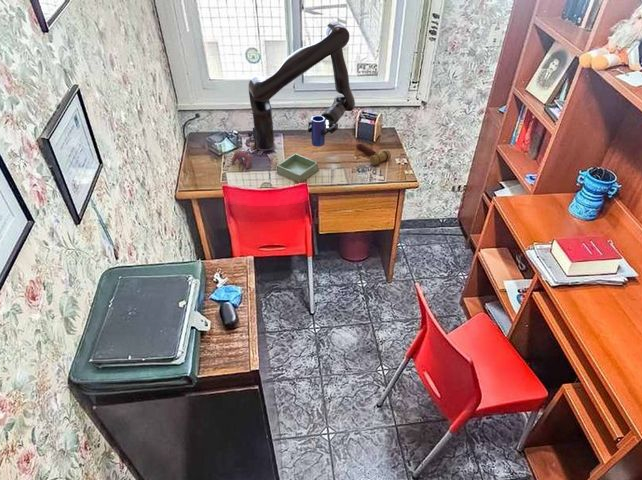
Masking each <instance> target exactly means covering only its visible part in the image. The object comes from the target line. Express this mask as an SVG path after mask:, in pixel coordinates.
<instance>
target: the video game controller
mask: <svg viewBox="0 0 642 480" xmlns="http://www.w3.org/2000/svg"><path fill="white" fill-rule="evenodd" d="M233 153H234V154H233V156H232V158H231V165H234V164H235V163H237V162H238V163H240V164H242V163H243V164H244V165H245V168H246V169H249V168H250V167H251V165H252V162H253V160H254V156H253V154H250V153H249V152H248V151H246V150H237V151H235V152H233Z"/></svg>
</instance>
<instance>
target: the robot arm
mask: <svg viewBox="0 0 642 480" xmlns="http://www.w3.org/2000/svg"><path fill="white" fill-rule="evenodd" d="M324 36H325V37H324V38H322V39H321V40H320V41H318V42H316V43H313V44H309V45H307V46H303V47H300V48H299V49H297V50H296V51H294V52H293V53H291V54H290V55H289V56H287V57H286V58H285V59H284V61H283V62H282V64H281V65H280V67H278V69H277V70H276V72H274V73H273V74H272V75H270V76H269V77H268V78H265V77H264V76H261V75H254V76H252V77H251V78H250V79H249V82H248V85H247V86H248V96H249V103H250V107H251V112H252V113H251V114H252V120H253V127H252V132H247V134H248V135H249V136H250V137H252V136H253V137H252V138H253V143H254V147H255V148H256V149H257V150H258V151H261V152H269V151H272V150H274V149H275V146H276V145H275V141H276V140H275V135H274V123H273V122H274V119H273V108H272V105H271V101H270V100H271V99H272V98H273V97H275V95H277V94H278V93H279V92H280V91H281V90H282V89H283V88H285V87H286V86H288V85H289V84H291V83H292V82H293V81H295V80H296V79H297V78H299V77H301V76H303V75H304V74H305V73H306V72H308V71H309V70H310V69H312V68H313V67H315V66H316V65H318V64H320V62H322V61H323V60H324V59H326V58H328V57H330V60H331V65H332V72H333V79H334V80H333V81H334V87H335V91H336V93H338V94H339V95H336V96H335V97H334V99H333V103H332V105H330V106H329V107H327V108H326V109H325V111H324V112H323V113H321V115H320V116H323V117H324V118H325V129H324V130H323V131H322V136H324V135H325V136H326V135H327V134H329V133H330V134H334V133H335V132H336V131H337V130H339V123H338V122H339V121H340V119H341V118H342V117H343V116H344V115H345V112H352V111H353V110H354V109H355V107H356V101H355V97H354V95H353V92H352V89H351V86H350V76H349V72H348V71H349V70H348V67H347V64H346V60H345V55H344V50H343V49H344V48H345V47H346V46H347V45H348V43H349V41H350V32H349V30H348V29H347V27H345V26H344V25H342V23H340V22H338V21H330V22H329V23H328V24H327V25H326V27H325V30H324ZM307 122H308V125H307V131H308V133H311V118H310V119H309V121H307Z"/></svg>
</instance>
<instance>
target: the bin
mask: <svg viewBox="0 0 642 480" xmlns="http://www.w3.org/2000/svg"><path fill="white" fill-rule="evenodd" d="M275 167H276V173H277V174H278V175H280V176H283V177H285V178H288V179H290V180H292V181H295V182H297V183H299V184H302V183H303V182H304V181H305V180H307V179H309V177H311V176H312V175H314V174H315V173H316V172H318V171H319V162H318V161H315V160H313V159H310V158H308V157H306V156H303V155H301V154H298V153H296V152H294V153H292V154H291V155H289V156H288V157H286V158H285V159H283V160H282V161H281V162H279V163H277V165H276V166H275Z"/></svg>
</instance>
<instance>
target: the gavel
mask: <svg viewBox="0 0 642 480" xmlns="http://www.w3.org/2000/svg"><path fill="white" fill-rule="evenodd" d="M355 146H356V147H357V148H358V149H359V150H360V151H363V152H364V153H366V154H368V155H369V162H370V164H371V165H372V166H376V165H378V164H379V163H382V162H385V161H388V160H390V159H391V158H392V154H391V152H390V151H389V149H386V150H383V151H382V152H380V153H378V152H377V151H376V150H373V149H371V148H370V147H368V146H366V145H364V144H362V143H355Z"/></svg>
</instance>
